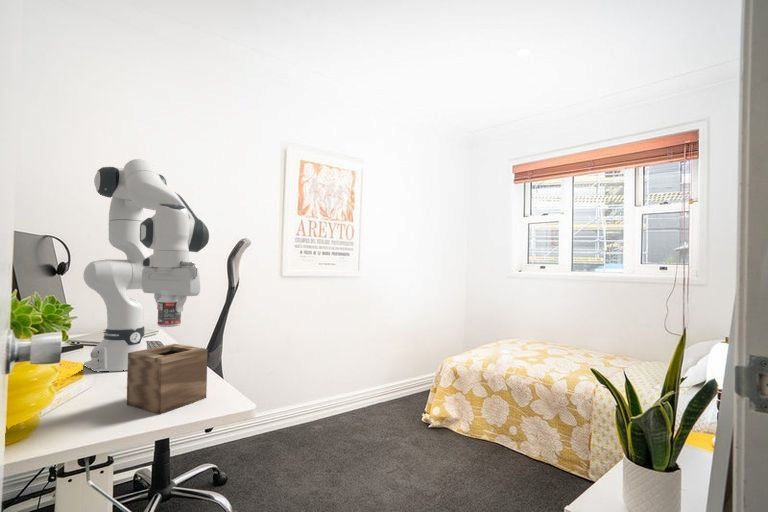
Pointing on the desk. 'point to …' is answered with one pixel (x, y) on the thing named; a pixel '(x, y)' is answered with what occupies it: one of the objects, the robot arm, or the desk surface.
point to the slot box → (166, 377)
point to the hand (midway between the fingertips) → (169, 310)
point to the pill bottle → (168, 310)
